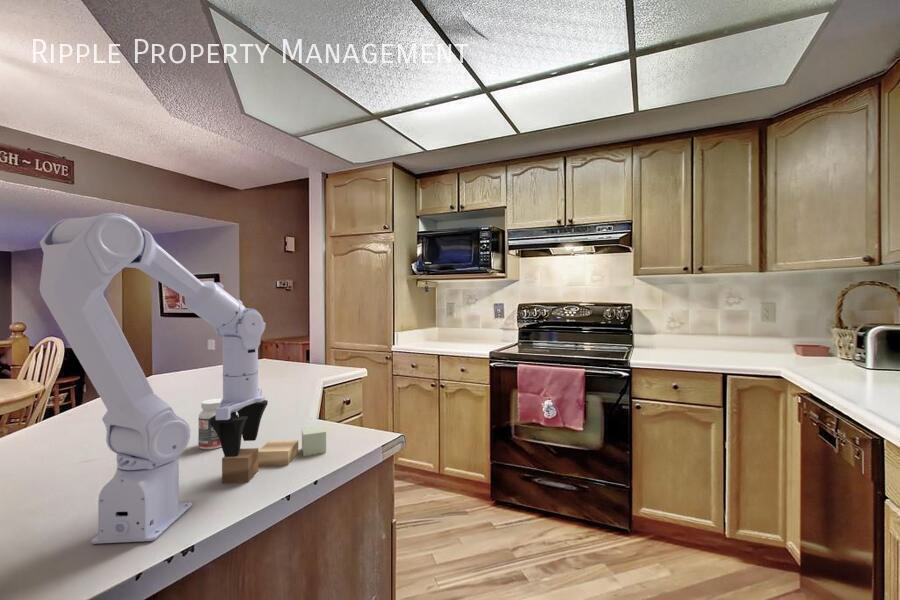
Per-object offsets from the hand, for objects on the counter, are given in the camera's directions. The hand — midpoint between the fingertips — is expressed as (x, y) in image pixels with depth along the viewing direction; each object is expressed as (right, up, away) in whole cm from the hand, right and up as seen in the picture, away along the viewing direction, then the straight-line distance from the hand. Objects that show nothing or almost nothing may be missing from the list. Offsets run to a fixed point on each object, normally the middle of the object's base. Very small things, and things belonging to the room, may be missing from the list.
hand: (241, 447), depth 73 cm
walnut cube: (0, -5, 0) cm, 5 cm away
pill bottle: (-14, -6, +16) cm, 22 cm away
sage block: (+9, -5, +13) cm, 16 cm away
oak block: (+3, -6, +8) cm, 10 cm away
